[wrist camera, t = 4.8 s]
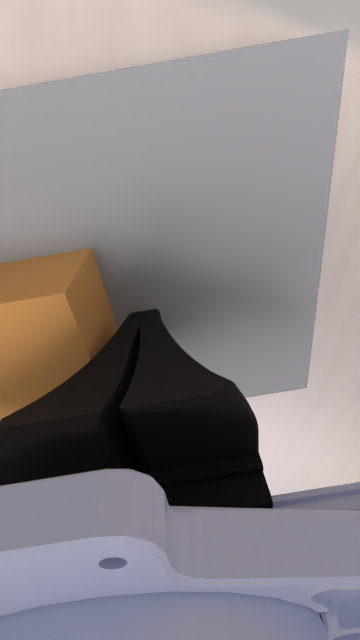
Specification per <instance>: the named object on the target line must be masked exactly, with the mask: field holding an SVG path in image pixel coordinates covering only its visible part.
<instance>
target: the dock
mask: <svg viewBox="0 0 360 640" xmlns="http://www.w3.org/2000/svg"><path fill="white" fill-rule="evenodd" d="M348 32H349V29H347V30H341V31H335V32H330V33H324V34H318V35H313V36H307V37H301V38H296V39H290V40H284V41H279V42H273V43H267V44H262V45H256V46H250V47H245V48H239V49H233V50H228V51H222V52H216V53H211V54H205V55H199V56H194V57H188V58H182V59H177V60H171V61H165V62H160V63H154V64H148V65H143V66H137V67H131V68H126V69H120V70H114V71H109V72H103V73H97V74H92V75H86V76H80V77H75V78H69V79H63V80H58V81H52V82H46V83H41V84H35V85H29V86H24V87H18V88H12V89H7V90H1V91H0V263H5V262H11V261H17V260H23V259H29V258H35V257H41V256H47V255H53V254H59V253H65V252H71V251H76V250H82V249H88V248H92V249H93V253H94V256H95V259H96V262H97V265H98V269H99V272H100V275H101V278H102V281H103V285H104V288H105V291H106V294H107V297H108V300H109V304H110V307H111V310H112V313H113V316H114V320H115V323H116V326H117V329H119V327H120V326H121V325H122V323H123V322H124V321H125V319H126V318H127V317H128V315H129V314H130V313H133V312H139V311H145V310H151V309H158V310H159V311H160V315H161V319H162V321H163V323H164V325H165V327H166V328H167V330H168V332H169V333H170V334H171V336H172V337H173V338H174V340H175V341H176V342H177V343H178V344H179V346H180V347H181V348H182V349H183V350H184V351H185V352H186V353H187V354H189V355H190V356H191V357H192V358H193V359H194V360H196V361H197V362H199V363H200V364H201V365H203V366H204V367H205V368H207V369H208V370H210V371H212V372H214V373H216V374H218V375H220V376H222V377H224V378H226V379H229V380H231V381H233V382H234V383H235V384H236V386H237V387H238V388H239V390H240V391H241V392H242V394H243V395H244V397H245V398H246V397H252V396H258V395H265V394H271V393H277V392H283V391H289V390H295V389H302V388H307V380H308V372H309V363H310V355H311V346H312V338H313V329H314V321H315V312H316V304H317V295H318V287H319V278H320V270H321V261H322V253H323V244H324V236H325V227H326V219H327V210H328V202H329V193H330V185H331V177H332V168H333V160H334V151H335V143H336V134H337V126H338V117H339V109H340V100H341V92H342V83H343V75H344V66H345V58H346V49H347V41H348Z"/></svg>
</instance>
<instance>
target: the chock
mask: <svg viewBox="0 0 360 640" xmlns="http://www.w3.org/2000/svg"><path fill="white" fill-rule="evenodd" d="M117 330H118V329H117V326H116V323H115V320H114V316H113V313H112V310H111V307H110V304H109V300H108V297H107V294H106V291H105V288H104V285H103V281H102V278H101V275H100V272H99V269H98V265H97V262H96V259H95V256H94V253H93V249H92V248H88V249H82V250H76V251H71V252H65V253H59V254H53V255H47V256H41V257H35V258H29V259H23V260H17V261H11V262H5V263H0V420H1V419H2V418H4V417H6V416H8V415H10V414H12V413H14V412H15V411H17V410H19V409H21V408H23V407H25V406H27V405H28V404H30V403H32V402H34V401H36V400H37V399H39V398H41V397H42V396H44V395H45V394H47V393H49V392H50V391H52V390H53V389H55V388H56V387H58V386H59V385H61V384H62V383H63V382H65V381H66V380H67V379H68V378H70V377H71V376H72V375H74V374H75V373H76V372H78V371H79V370H80V369H81V368H82V367H84V366H85V365H86V364H87V363H88V362H89V361H90V360H91V359H92V358H93V357H94V356H95V355H96V354H97V353H98V352H99V351H100V350H101V349H102V348H103V347H104V346H105V345H106V343H107V342H108V341H109V340H110V339H111V338H112V336H113V335H114V334H115V333H116V331H117Z"/></svg>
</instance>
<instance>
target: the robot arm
mask: <svg viewBox="0 0 360 640" xmlns="http://www.w3.org/2000/svg"><path fill="white" fill-rule="evenodd" d="M0 640H360V482H357V483H351V484H344V485H338V486H332V487H325V488H319V489H313V490H306V491H300V492H294V493H287V494H281V495H275V496H271V494H270V491H269V488H268V485H267V482H266V479H265V476H264V473H263V464H262V461H261V458H260V455H259V452H258V424H257V420H256V417H255V415H254V413H253V411H252V409H251V407H250V405H249V403H248V402H247V400H246V399H245V397H244V395H243V394H242V392H241V391H240V390H239V388H238V387H237V386H236V384H235V383H234V382H233V381H231V380H229V379H226V378H224V377H222V376H220V375H218V374H216V373H214V372H212V371H210V370H208V369H207V368H205V367H204V366H203V365H201V364H200V363H199V362H197V361H196V360H194V359H193V358H192V357H191V356H190V355H189V354H187V353H186V352H185V351H184V350H183V349H182V348H181V347H180V346H179V344H178V343H177V342H176V341H175V340H174V338H173V337H172V336H171V334H170V333H169V332H168V330H167V328H166V327H165V325H164V323H163V321H162V319H161V315H160V311H159V310H158V309H151V310H145V311H139V312H133V313H130V314H129V315H128V317H127V318H126V319H125V321H124V322H123V323H122V325H121V326H120V327H119V329H118V330H117V331H116V333H115V334H114V335H113V336H112V338H111V339H110V340H109V341H108V342H107V343H106V345H105V346H104V347H103V348H102V349H101V350H100V351H99V352H98V353H97V354H96V355H95V356H94V357H93V358H92V359H91V360H90V361H89V362H88V363H87V364H86V365H85V366H84V367H82V368H81V369H80V370H79V371H78V372H76V373H75V374H74V375H72V376H71V377H70V378H68V379H67V380H66V381H65V382H63V383H62V384H61V385H59V386H58V387H56V388H55V389H53V390H52V391H50V392H49V393H47V394H45V395H44V396H42V397H41V398H39V399H37V400H36V401H34V402H32V403H30V404H28V405H27V406H25V407H23V408H21V409H19V410H17V411H15V412H14V413H12V414H10V415H8V416H6V417H4V418H2V419H1V420H0Z"/></svg>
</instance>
